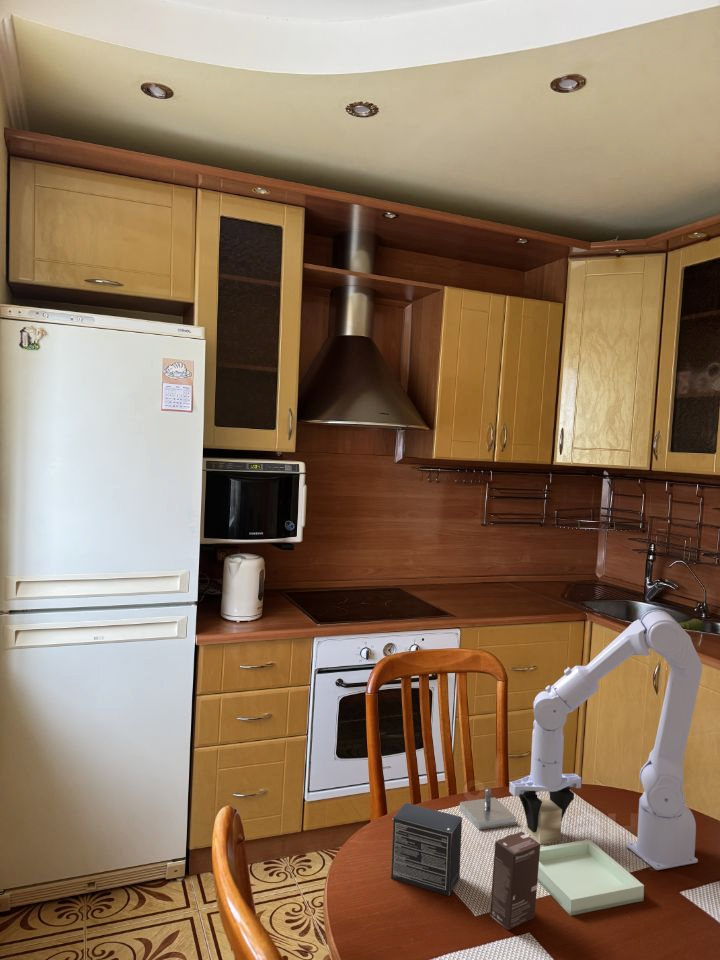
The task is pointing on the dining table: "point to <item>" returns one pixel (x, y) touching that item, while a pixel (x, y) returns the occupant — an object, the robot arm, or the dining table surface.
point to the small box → (426, 848)
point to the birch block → (548, 823)
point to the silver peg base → (487, 812)
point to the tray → (586, 878)
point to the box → (514, 880)
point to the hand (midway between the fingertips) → (543, 827)
